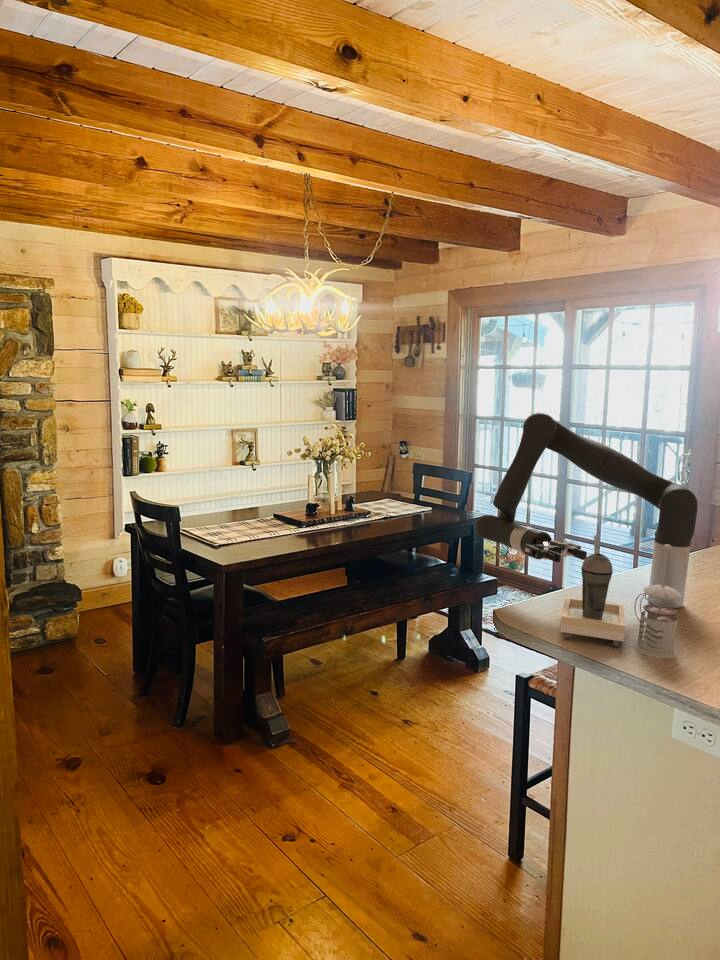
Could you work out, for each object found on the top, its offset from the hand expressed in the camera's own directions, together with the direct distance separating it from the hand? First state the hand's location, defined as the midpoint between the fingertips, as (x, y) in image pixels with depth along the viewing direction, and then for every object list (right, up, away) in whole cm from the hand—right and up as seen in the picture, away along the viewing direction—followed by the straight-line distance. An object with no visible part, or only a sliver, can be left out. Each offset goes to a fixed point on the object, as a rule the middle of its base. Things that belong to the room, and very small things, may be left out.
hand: (572, 557), depth 177 cm
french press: (+15, -20, -13) cm, 28 cm away
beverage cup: (+3, -14, -6) cm, 15 cm away
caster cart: (+3, -18, -5) cm, 19 cm away
